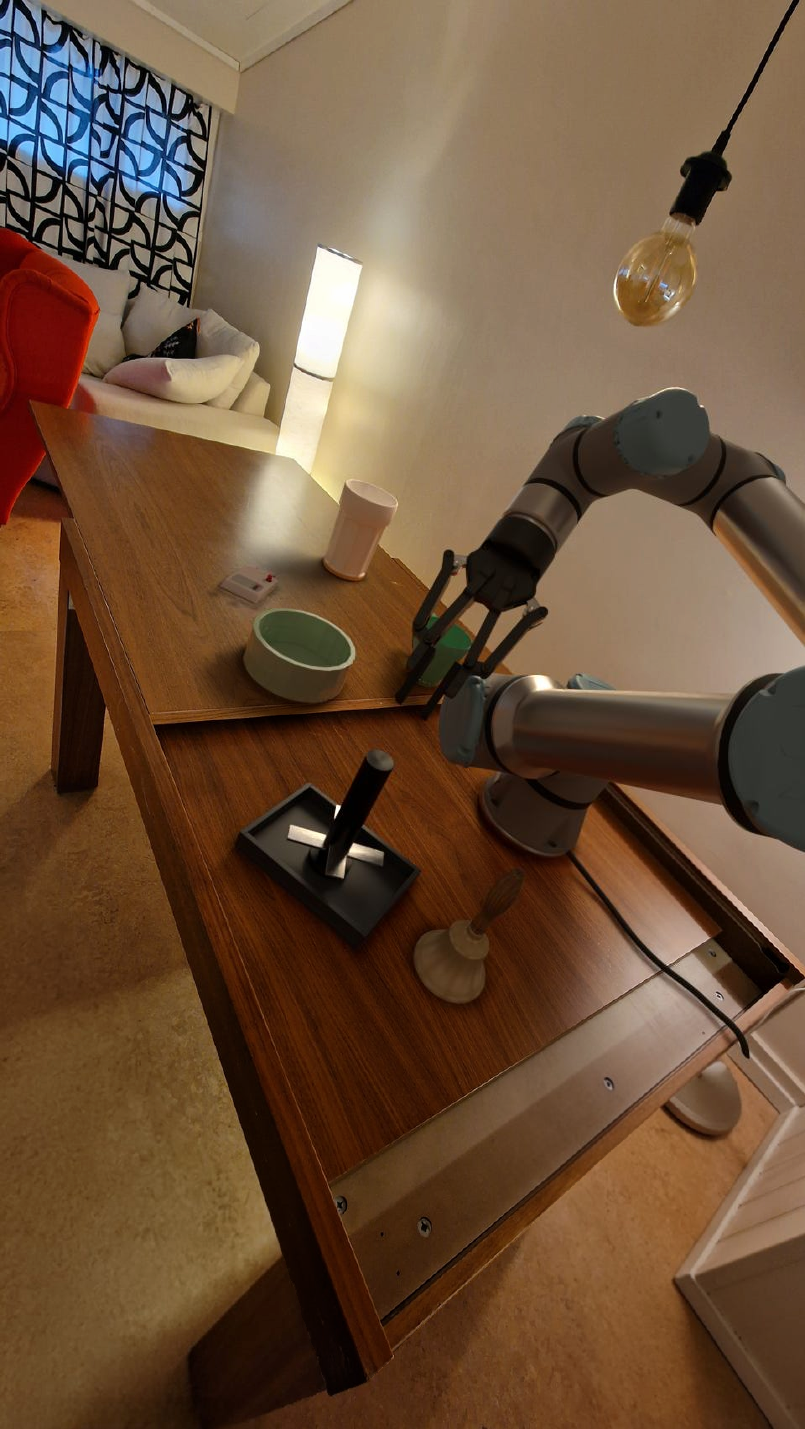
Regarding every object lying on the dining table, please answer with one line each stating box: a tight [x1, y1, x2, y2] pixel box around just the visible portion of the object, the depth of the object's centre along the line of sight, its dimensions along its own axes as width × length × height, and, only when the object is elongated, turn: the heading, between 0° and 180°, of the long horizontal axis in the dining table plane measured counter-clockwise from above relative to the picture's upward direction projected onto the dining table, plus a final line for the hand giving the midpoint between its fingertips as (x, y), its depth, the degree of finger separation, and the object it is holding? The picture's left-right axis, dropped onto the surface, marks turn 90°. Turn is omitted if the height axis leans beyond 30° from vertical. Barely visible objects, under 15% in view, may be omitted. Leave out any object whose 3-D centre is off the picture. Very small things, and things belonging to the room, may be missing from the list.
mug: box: [411, 612, 473, 688], centre depth 110 cm, size 15×10×10 cm
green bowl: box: [242, 607, 356, 704], centre depth 94 cm, size 16×16×7 cm
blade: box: [286, 749, 395, 880], centre depth 65 cm, size 11×10×16 cm
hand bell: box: [413, 867, 526, 1005], centre depth 62 cm, size 8×8×16 cm
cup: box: [322, 478, 399, 582], centre depth 128 cm, size 11×11×17 cm
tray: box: [233, 781, 422, 952], centre depth 69 cm, size 17×12×3 cm
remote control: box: [219, 564, 280, 605], centre depth 111 cm, size 7×16×3 cm, turn 166°
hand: (410, 708), depth 64 cm, fingers open, 2 cm apart
